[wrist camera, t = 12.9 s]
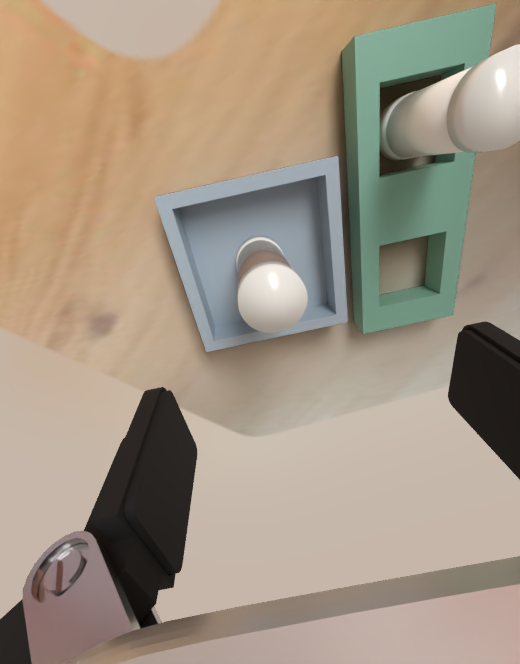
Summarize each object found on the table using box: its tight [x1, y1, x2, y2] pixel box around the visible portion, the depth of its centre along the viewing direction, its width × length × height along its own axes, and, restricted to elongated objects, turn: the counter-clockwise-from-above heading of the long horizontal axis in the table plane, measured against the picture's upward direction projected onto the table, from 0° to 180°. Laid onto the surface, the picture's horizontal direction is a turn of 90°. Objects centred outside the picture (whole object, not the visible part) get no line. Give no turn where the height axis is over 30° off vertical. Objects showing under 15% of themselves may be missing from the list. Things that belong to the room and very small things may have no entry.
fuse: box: [379, 44, 520, 160], centre depth 19 cm, size 4×4×10 cm
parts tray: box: [154, 156, 348, 352], centre depth 25 cm, size 13×13×4 cm
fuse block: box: [342, 3, 496, 334], centre depth 25 cm, size 22×9×2 cm, turn 11°
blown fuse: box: [236, 236, 308, 333], centre depth 22 cm, size 4×4×10 cm
